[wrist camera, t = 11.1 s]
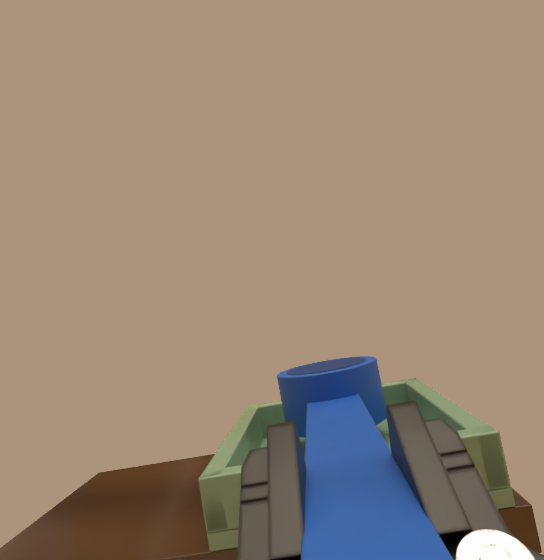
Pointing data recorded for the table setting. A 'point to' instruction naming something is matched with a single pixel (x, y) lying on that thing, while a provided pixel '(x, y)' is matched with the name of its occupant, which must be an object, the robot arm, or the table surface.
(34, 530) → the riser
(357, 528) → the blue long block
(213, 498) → the green shallow tray
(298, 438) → the robot arm
